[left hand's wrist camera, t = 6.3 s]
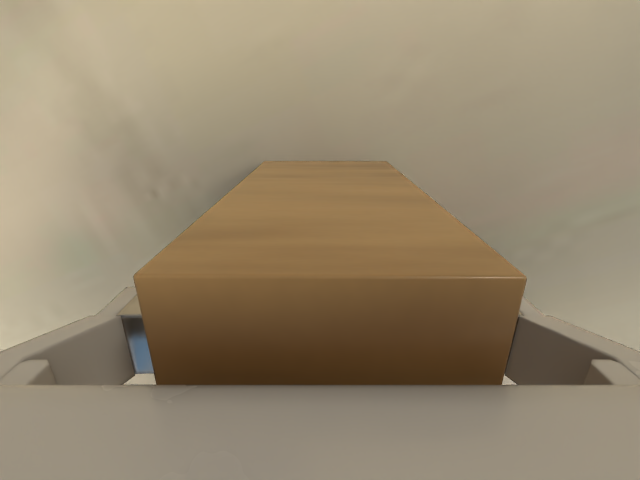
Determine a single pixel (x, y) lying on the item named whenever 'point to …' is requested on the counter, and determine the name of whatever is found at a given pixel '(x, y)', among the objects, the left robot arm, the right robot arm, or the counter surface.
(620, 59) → the counter surface
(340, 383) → the box
